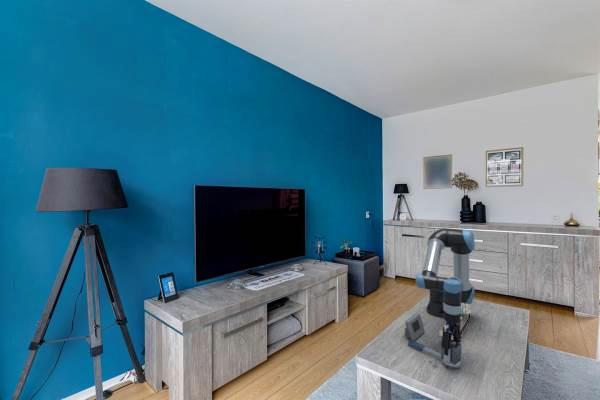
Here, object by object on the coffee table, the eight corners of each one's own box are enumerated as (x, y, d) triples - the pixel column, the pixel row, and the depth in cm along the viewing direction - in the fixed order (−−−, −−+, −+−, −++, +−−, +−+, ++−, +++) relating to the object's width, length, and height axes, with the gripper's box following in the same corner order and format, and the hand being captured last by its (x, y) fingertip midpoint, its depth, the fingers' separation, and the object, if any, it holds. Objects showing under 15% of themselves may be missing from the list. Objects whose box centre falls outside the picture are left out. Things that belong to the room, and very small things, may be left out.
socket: (447, 353, 141) (447, 336, 140) (461, 359, 135) (461, 341, 135) (441, 358, 137) (441, 340, 136) (455, 365, 131) (455, 346, 131)
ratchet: (413, 342, 156) (413, 332, 156) (463, 365, 135) (463, 354, 135) (405, 347, 151) (405, 337, 151) (455, 371, 130) (456, 360, 130)
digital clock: (412, 342, 156) (412, 323, 155) (399, 335, 163) (399, 317, 163) (429, 334, 164) (430, 317, 164) (416, 328, 172) (416, 311, 172)
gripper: (453, 304, 145) (452, 347, 145) (433, 315, 132) (432, 362, 133) (469, 309, 139) (468, 353, 139) (449, 321, 126) (449, 370, 127)
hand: (451, 357), depth 136 cm, fingers open, 8 cm apart
